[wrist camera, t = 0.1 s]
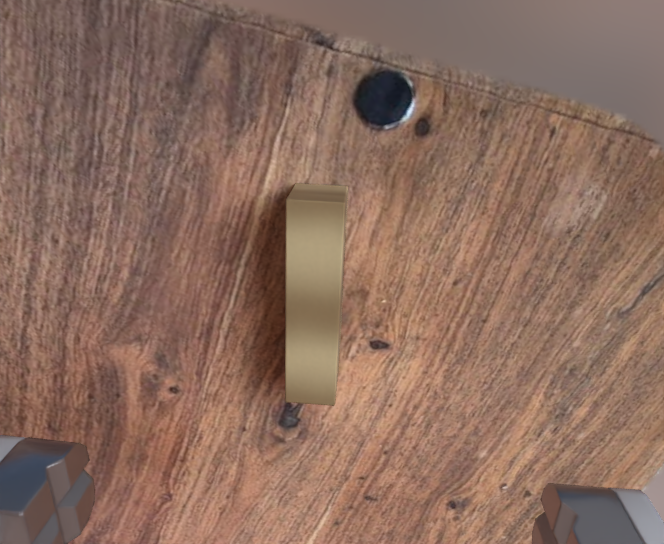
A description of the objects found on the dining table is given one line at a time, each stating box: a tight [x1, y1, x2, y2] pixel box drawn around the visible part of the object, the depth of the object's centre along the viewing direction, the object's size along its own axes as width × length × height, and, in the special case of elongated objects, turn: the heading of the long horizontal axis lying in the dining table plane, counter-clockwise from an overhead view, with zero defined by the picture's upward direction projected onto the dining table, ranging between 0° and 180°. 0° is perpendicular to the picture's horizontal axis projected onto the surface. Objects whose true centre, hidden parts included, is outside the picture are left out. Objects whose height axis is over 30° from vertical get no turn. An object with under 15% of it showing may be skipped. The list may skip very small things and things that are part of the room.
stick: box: [285, 183, 348, 406], centre depth 24 cm, size 10×2×3 cm, turn 178°
